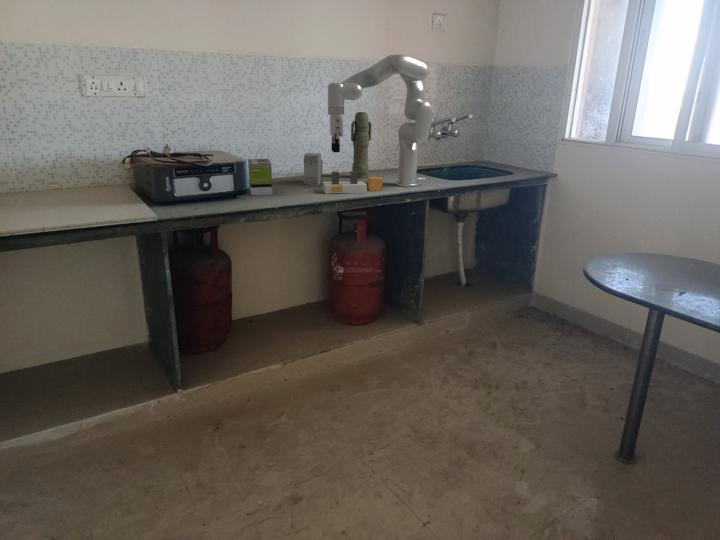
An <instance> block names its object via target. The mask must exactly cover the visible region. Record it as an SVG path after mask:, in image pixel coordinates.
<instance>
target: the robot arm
mask: <svg viewBox="0 0 720 540" xmlns="http://www.w3.org/2000/svg"><path fill="white" fill-rule="evenodd" d="M398 74H399V77H400V78H401V79H402V80H403V81H404V84H405V86H406V97H405V103H404V112H403V113H404V114H403V115H404V117H405V118H406V119H407V120H409V121H410V122H405V123H403V124H401V125H400V126H399V129H398V133H397V134H398V135H397V136H398V137H397V138H398V143H399V144H398V145H399V150H398V151H399V152H398V169H397V171H398V172H397V181H394V185H396V186H398V187H406V188H409V187H411V188H413V187H418V186H419V182H425V181H426V178H425V177H420V176H419V177H418V176H417V171H418V170H417V167H418V144H424V143H425V142H427V141H428V139H429V136H430V133H431V126H432V121H433V115H434V114H433V113H434V111H433V107H432V104H431V103H430V102H428V101H425V100H424V94H425V87H424V86H425V85H424V84H423V83H424V82H423V81H424V80H426V78H427V77H428V74H429V69H428V66H427V64H426V63H425V62H423V61H420V60H418V59H415V58H413V57H410V56H408V55H405V54H391V55H387V56H385V58H382V59H381V60H380V61H378V62H377V63H375V64H373V65H372V66H370V67H368V68H366V69H364V70H362V71H359V72H357V73H355V74H353V75H351V76H349V77H348V78H346V79H344V80H343V81H342V82H330V83H329V84H328V86H327V115H328V116H329V115H330V117H329V135H330V136H331V152H333V153H340V152H341V142H340V141H341V140H340V139H341V138H343V137H344V121H343V120H344V118H343V116H345V100H349V101H356V100H359V99H360V98H361V97H362V95H363V89H366V88H372V87H375V86H377V85H379V84H381V83H383V82H384V81H386V80H387V79H389V78H390V77H391V76H393V75H398ZM411 121H415V122H411Z"/></svg>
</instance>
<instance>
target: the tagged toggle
mask: <svg viewBox="0 0 720 540" xmlns="http://www.w3.org/2000/svg"><path fill="white" fill-rule="evenodd" d="M339 181H340V172H339V171H337V170H335V171H331V182H332V184H339Z"/></svg>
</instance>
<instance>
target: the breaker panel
mask: <svg viewBox="0 0 720 540" xmlns="http://www.w3.org/2000/svg"><path fill="white" fill-rule="evenodd" d="M367 189H368V184H366V183H365V182H364V181H362V180H361V181H360V180H357V184H350V180H349V181H344V180H343V181H341V180H339V184H332V181H322V192H325V193H324V194H325V195H329V193H350V194H367V193H368V192H367Z"/></svg>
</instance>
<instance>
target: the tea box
mask: <svg viewBox="0 0 720 540" xmlns="http://www.w3.org/2000/svg"><path fill="white" fill-rule="evenodd" d="M247 162H248V166H247V167H248V181H250V182H249V190H250V195H251V196H269V195H273V174H272V172H273V171H272V163H271V161H270V159H269V158H250V159H249V158H248V159H247Z"/></svg>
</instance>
